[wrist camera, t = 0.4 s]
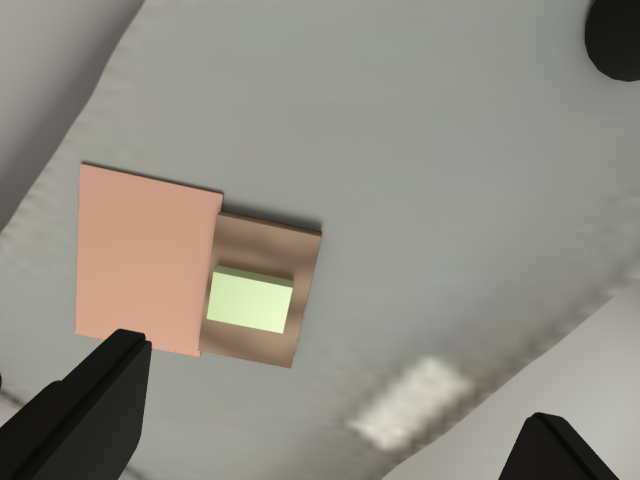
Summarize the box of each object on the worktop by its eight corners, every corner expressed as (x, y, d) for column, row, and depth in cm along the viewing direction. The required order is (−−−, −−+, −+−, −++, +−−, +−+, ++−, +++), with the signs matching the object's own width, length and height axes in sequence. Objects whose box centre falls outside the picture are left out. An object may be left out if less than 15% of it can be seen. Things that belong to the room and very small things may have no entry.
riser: (221, 210, 42) (216, 214, 40) (321, 232, 43) (321, 236, 41) (202, 341, 47) (197, 350, 45) (292, 358, 48) (290, 368, 46)
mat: (82, 163, 40) (79, 164, 40) (223, 194, 42) (222, 194, 41) (78, 331, 47) (75, 333, 46) (200, 354, 48) (199, 356, 47)
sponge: (218, 265, 42) (213, 271, 40) (294, 280, 42) (292, 288, 41) (211, 310, 44) (206, 318, 42) (284, 324, 44) (282, 333, 42)
